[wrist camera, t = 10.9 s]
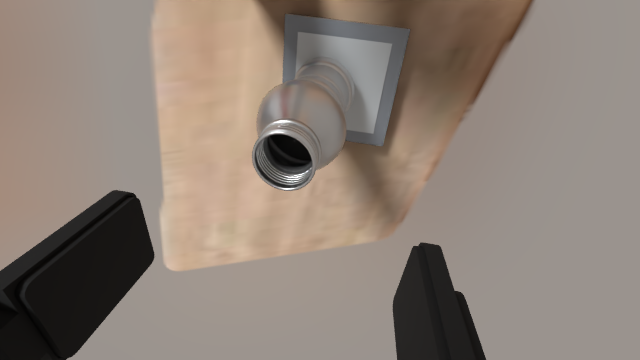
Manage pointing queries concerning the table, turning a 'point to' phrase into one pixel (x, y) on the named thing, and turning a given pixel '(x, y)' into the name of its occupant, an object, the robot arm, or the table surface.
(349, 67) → the slate pedestal
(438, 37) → the table surface
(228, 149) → the table surface
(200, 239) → the table surface
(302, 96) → the metal water bottle
